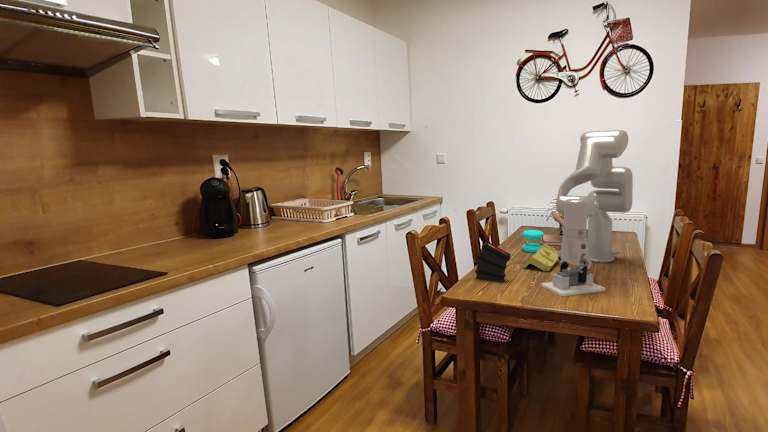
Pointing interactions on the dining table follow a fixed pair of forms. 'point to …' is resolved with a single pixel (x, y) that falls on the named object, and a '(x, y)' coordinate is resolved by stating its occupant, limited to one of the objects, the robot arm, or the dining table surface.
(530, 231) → the cyan spool
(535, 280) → the dining table surface
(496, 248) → the black ridged block
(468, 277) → the dining table surface
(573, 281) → the servo
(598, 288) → the cradle
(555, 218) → the case
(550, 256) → the plastic component
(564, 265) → the robot arm
